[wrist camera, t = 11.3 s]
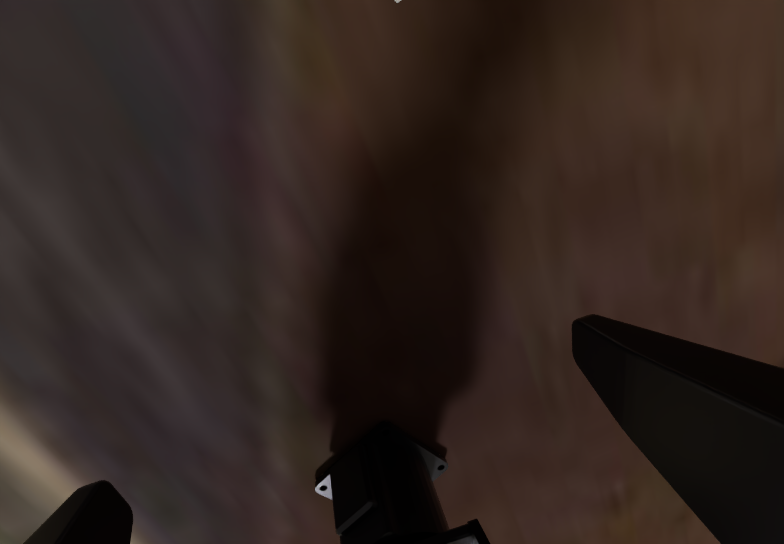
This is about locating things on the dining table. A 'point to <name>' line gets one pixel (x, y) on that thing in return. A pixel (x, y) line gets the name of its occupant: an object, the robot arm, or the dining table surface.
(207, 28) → the dining table surface
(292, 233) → the dining table surface
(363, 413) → the dining table surface
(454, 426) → the dining table surface
